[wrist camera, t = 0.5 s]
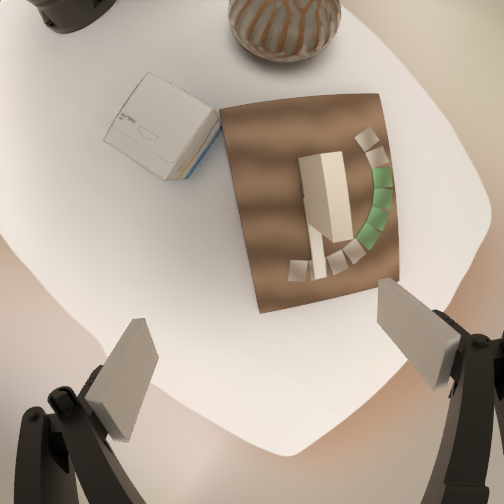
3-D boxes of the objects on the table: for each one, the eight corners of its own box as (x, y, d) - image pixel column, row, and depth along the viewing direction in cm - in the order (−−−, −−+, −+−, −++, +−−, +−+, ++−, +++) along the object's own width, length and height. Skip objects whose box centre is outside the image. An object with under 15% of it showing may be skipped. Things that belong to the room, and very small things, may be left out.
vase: (279, 92, 34) (310, 39, 17) (210, 37, 31) (194, -36, 14) (339, 42, 32) (393, -15, 15) (273, -9, 29) (291, -82, 12)
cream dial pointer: (294, 158, 34) (320, 153, 23) (310, 156, 34) (341, 151, 23) (312, 278, 39) (339, 319, 28) (326, 275, 39) (357, 314, 28)
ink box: (223, 127, 35) (217, 109, 24) (187, 180, 37) (165, 184, 26) (172, 96, 33) (147, 69, 22) (137, 147, 35) (99, 141, 24)
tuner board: (219, 112, 34) (218, 109, 32) (372, 96, 34) (379, 93, 32) (258, 307, 42) (260, 314, 40) (393, 276, 42) (400, 281, 40)
